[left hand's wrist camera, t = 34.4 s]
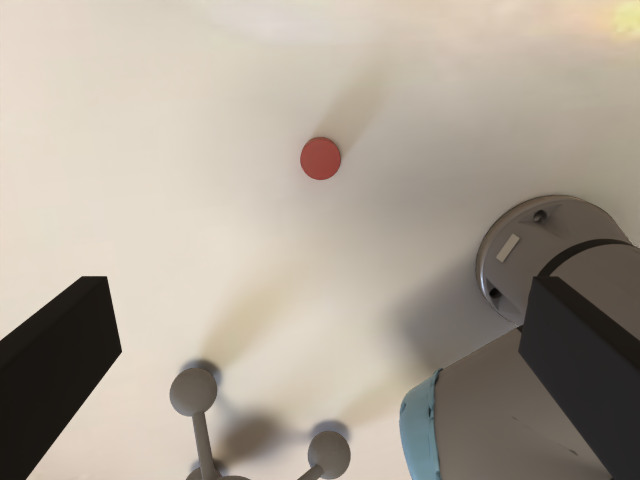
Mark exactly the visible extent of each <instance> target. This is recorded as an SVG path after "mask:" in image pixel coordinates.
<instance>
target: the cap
mask: <svg viewBox="0 0 640 480" xmlns="http://www.w3.org/2000/svg"><path fill="white" fill-rule="evenodd" d="M340 161H341V158H340V153H339V150H338V148H337V146H336V145H335V143H334V142H332V141H331V140H330V139H327V138H324V137H317V138H314V139H311V140H310V141H309V142H307V143H306V145H305V146H304V148H303V150H302V153H301V166H302V168H303V170H304V172H305V173H306V174H307V175H308V176H309V177H311V178H313V179H317V180H324V179H328V178H330V177H332V176H333V175H334V174H335V173H336V172H337V170H338V169H339V166H340Z"/></svg>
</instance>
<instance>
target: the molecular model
mask: <svg viewBox="0 0 640 480" xmlns="http://www.w3.org/2000/svg"><path fill="white" fill-rule="evenodd" d="M216 395H217V384H216V381H215V379H214V377H213V376H212V375H211V374H210V373H209V372H208V371H206V370H204V369H201V368H191V369H188V370H185V371H183V372H182V373H180V374H179V375H178V376H177V377H176V378H175V380H174V381H173V383H172V385H171V389H170V401H171V404H172V406H173V407H174V409H175V410H176V411H177V412H178V413H180V414H182V415H184V416H192V419H193V425H194V432H195V438H196V444H197V450H198V456H199V463H200V468H198V469H196V470H194V471H193V472H192V473H191V474H190V475H189V476H188V477H187V479H186V480H250V479H248V478H245V477H241V476H225V477H222V475H221V474H220V473H219V471H218V470H216V469H215V468H214V464H213V459H212V453H211V447H210V442H209V436H208V431H207V425H206V419H205V414H204V412H206V411H207V410H208V409H209V408H210V407H211V406H212V404H213V403H214V401H215V399H216ZM350 456H351V453H350V448H349V445H348V443H347V441H346V440H345V439H344V438H343V436H341V435H340V434H338V433H336V432H333V431H325V432H322V433H320V434H318V435H317V436H316V437H315V438H314V439H313V440H312V441H311V443H310V446H309V449H308V461H309V464H310V467H311V469H310V470H308V471H307V472H306V473H305V474H304V475H302V476H301V477H300V478H299V479H298V480H317V479H318V478H319V477H321V478H323V479H335V478H338V477H340V476H341V475H342V474H343V473H344V472H345V471H346V470H347V468H348V466H349V463H350Z"/></svg>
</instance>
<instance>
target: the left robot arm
mask: <svg viewBox="0 0 640 480" xmlns="http://www.w3.org/2000/svg"><path fill="white" fill-rule="evenodd" d="M476 277H477V282H478V285H479V288H480V290H481V292H482V294H483V296H484V297H485V298H486V300H487V301H488V302H489V304H490V305H491V306H492V307H493V308H494V310H495V311H496V312H497V313H499V314H500V315H501V316H502V317H504V318H505V319H507V320H509V321H511V322H513V323H516V324H518V325H520V326H519V327H518V328H515V329H514V330H512V331H510V332H508V333H506V334H505V335H503V336H501V337H499V338H498V339H496V340H494V341H492V342H491V343H489V344H487V345H485V346H484V347H482V348H480V349H478V350H477V351H475V352H473V353H471V354H470V355H468V356H466V357H464V358H463V359H461V360H459V361H457V362H456V363H454V364H452V365H450V366H449V367H447V368H445V369H442V368H441V369H439V370H437V371H436V372H434V374H433V376H431V377H430V378H428V379H427V380H425V381H424V382H422V383H421V384H419V385H418V386H416V387H415V388H413V389H412V390H410V391H409V392H408V393H407V394H406V396H405V397H404V399H403V401H402V404H401V408H400V420H399V426H400V435H401V441H402V446H403V451H404V455H405V459H406V462H407V465H408V469H409V472H410V475H411V478H412V480H640V249H639V248H637V247H635V246H633V245H632V243H631V242H630V241H629V240H628V238H627V237H626V236H625V234H624V233H623V232H622V231H621V229H620V228H619V227H618V225H617V224H616V223H615V221H614V220H613V219H612V217H611V216H610V215H609V214H607V213H606V212H605V211H604V210H602V209H601V208H599V207H597V206H595V205H593V204H591V203H588V202H586V201H584V200H581V199H578V198H575V197H570V196H563V195H552V196H544V197H539V198H535V199H532V200H529V201H527V202H524V203H522V204H520V205H518V206H516V207H515V208H513V209H511V210H510V211H509V212H507V213H506V214H505V215H503V216H502V217H501V218H500V219H499V220H498V221H497V222H496V223H495V224H494V225H493V226H492V228H491V229H490V230H489V232H488V233H487V235H486V236H485V238H484V240H483V242H482V244H481V246H480V249H479V252H478V256H477V261H476ZM121 352H122V349H121V344H120V339H119V334H118V329H117V324H116V319H115V314H114V309H113V304H112V299H111V294H110V289H109V284H108V280H107V276H82V277H81V278H79V279H78V280H77V281H75V282H74V283H73V284H72V285H70V286H69V287H68V288H67V289H65V290H64V291H63V292H61V293H60V294H59V295H58V296H56V297H55V298H54V299H53V300H51V301H50V302H49V303H48V304H46V305H45V306H44V307H42V308H41V309H40V310H39V311H37V312H36V313H35V314H34V315H32V316H31V317H30V318H29V319H27V320H26V321H25V322H23V323H22V324H21V325H20V326H18V327H17V328H16V329H15V330H13V331H12V332H11V333H9V334H8V335H7V336H6V337H4V338H3V339H2V340H1V341H0V480H26V479H27V477H28V476H29V475H30V473H31V472H32V471H33V469H34V468H35V467H36V465H37V464H38V463H39V461H40V460H41V459H42V457H43V456H44V455H45V453H46V452H47V451H48V449H49V448H50V447H51V445H52V444H53V443H54V441H55V440H56V439H57V437H58V436H59V435H60V433H61V432H62V431H63V430H64V428H65V427H66V426H67V424H68V423H69V422H70V420H71V419H72V418H73V416H74V415H75V414H76V412H77V411H78V410H79V408H80V407H81V406H82V404H83V403H84V402H85V400H86V399H87V398H88V396H89V395H90V394H91V392H92V391H93V390H94V388H95V387H96V386H97V384H98V383H99V382H100V380H101V379H102V378H103V376H104V375H105V374H106V372H107V371H108V370H109V368H110V367H111V366H112V364H113V363H114V362H115V360H116V359H117V358H118V356H119V355H120V354H121Z"/></svg>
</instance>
